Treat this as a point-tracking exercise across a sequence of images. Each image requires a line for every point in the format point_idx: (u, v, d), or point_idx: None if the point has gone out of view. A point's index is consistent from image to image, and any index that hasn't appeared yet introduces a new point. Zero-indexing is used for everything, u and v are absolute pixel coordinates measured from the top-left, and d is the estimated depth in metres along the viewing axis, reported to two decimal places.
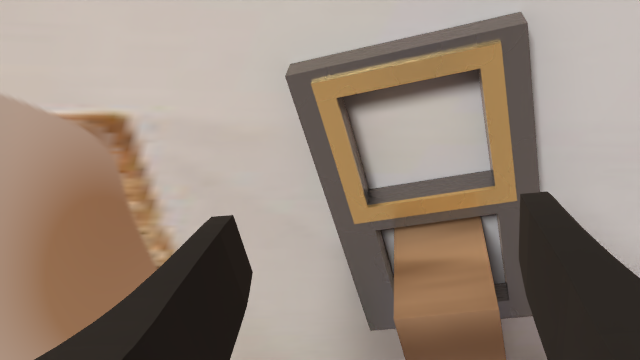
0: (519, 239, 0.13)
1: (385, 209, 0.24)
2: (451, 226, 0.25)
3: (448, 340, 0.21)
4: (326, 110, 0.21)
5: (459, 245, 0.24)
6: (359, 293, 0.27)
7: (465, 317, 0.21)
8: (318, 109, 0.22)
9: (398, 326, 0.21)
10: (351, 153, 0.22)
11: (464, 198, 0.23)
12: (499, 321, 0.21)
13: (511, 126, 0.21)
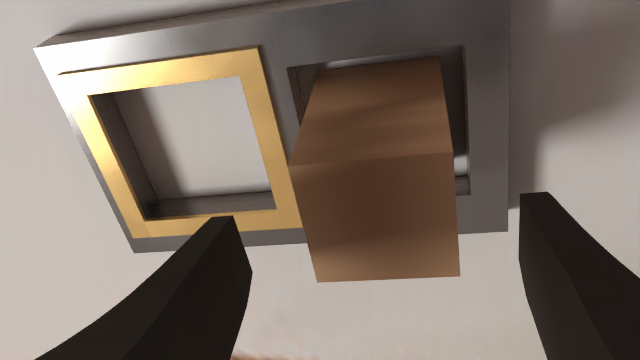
0: (519, 239, 0.13)
1: (279, 195, 0.20)
2: None
3: (361, 227, 0.14)
4: (159, 230, 0.21)
5: None
6: None
7: (308, 206, 0.14)
8: (161, 235, 0.22)
9: (331, 279, 0.15)
10: (206, 217, 0.21)
11: (257, 111, 0.18)
12: (314, 165, 0.13)
13: (154, 57, 0.17)
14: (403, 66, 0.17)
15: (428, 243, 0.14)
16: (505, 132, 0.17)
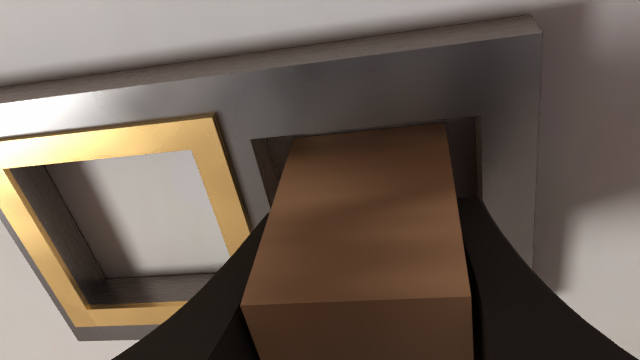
0: None
1: None
2: None
3: None
4: (105, 319, 0.18)
5: None
6: None
7: (271, 351, 0.10)
8: None
9: None
10: (161, 306, 0.17)
11: (216, 191, 0.14)
12: (276, 305, 0.09)
13: (83, 125, 0.14)
14: (401, 137, 0.13)
15: None
16: (530, 219, 0.14)
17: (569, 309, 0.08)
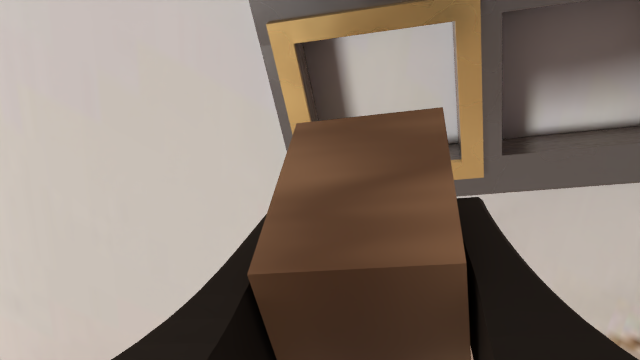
0: None
1: (467, 144, 0.20)
2: None
3: (345, 345, 0.11)
4: None
5: None
6: (608, 183, 0.21)
7: (276, 320, 0.11)
8: None
9: None
10: None
11: (465, 57, 0.18)
12: (281, 274, 0.10)
13: (370, 4, 0.18)
14: (400, 121, 0.14)
15: None
16: None
17: (569, 309, 0.08)
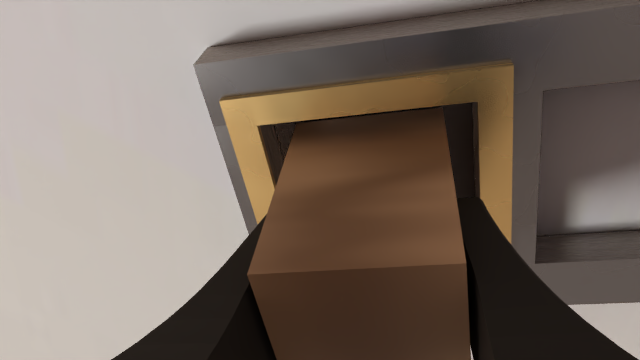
0: None
1: None
2: None
3: (344, 345, 0.11)
4: None
5: None
6: None
7: (276, 320, 0.11)
8: None
9: None
10: None
11: (490, 147, 0.13)
12: (281, 274, 0.10)
13: (360, 77, 0.13)
14: (400, 121, 0.14)
15: None
16: None
17: (569, 309, 0.08)
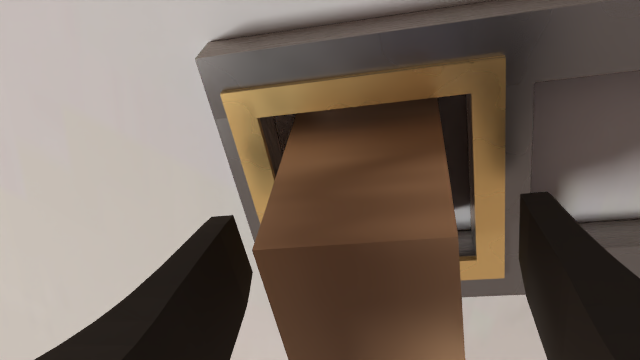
0: (519, 239, 0.13)
1: (484, 240, 0.16)
2: None
3: (344, 318, 0.12)
4: None
5: None
6: None
7: (280, 295, 0.11)
8: None
9: None
10: None
11: (483, 138, 0.14)
12: (284, 249, 0.11)
13: (357, 70, 0.13)
14: (396, 109, 0.15)
15: (427, 337, 0.12)
16: None
17: None
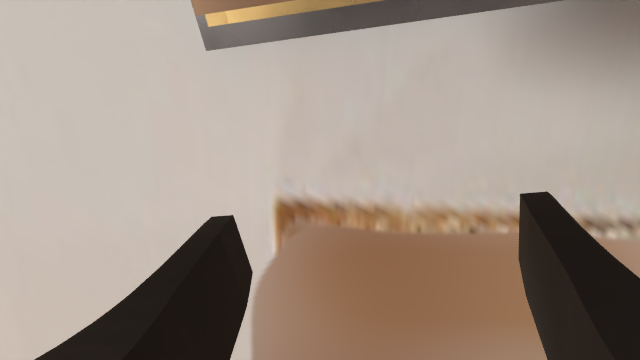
0: (519, 239, 0.13)
1: None
2: None
3: None
4: (238, 14, 0.20)
5: None
6: (540, 1, 0.18)
7: None
8: (240, 22, 0.20)
9: (209, 9, 0.15)
10: None
11: None
12: None
13: None
14: None
15: None
16: None
17: None
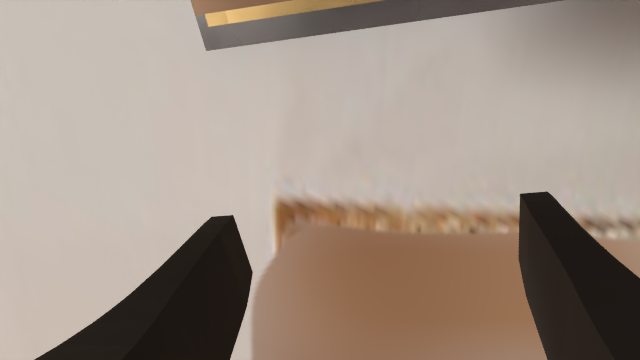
0: (519, 239, 0.13)
1: None
2: None
3: None
4: (238, 14, 0.20)
5: None
6: (540, 1, 0.18)
7: None
8: (240, 22, 0.20)
9: (208, 9, 0.15)
10: None
11: None
12: None
13: None
14: None
15: None
16: None
17: None
